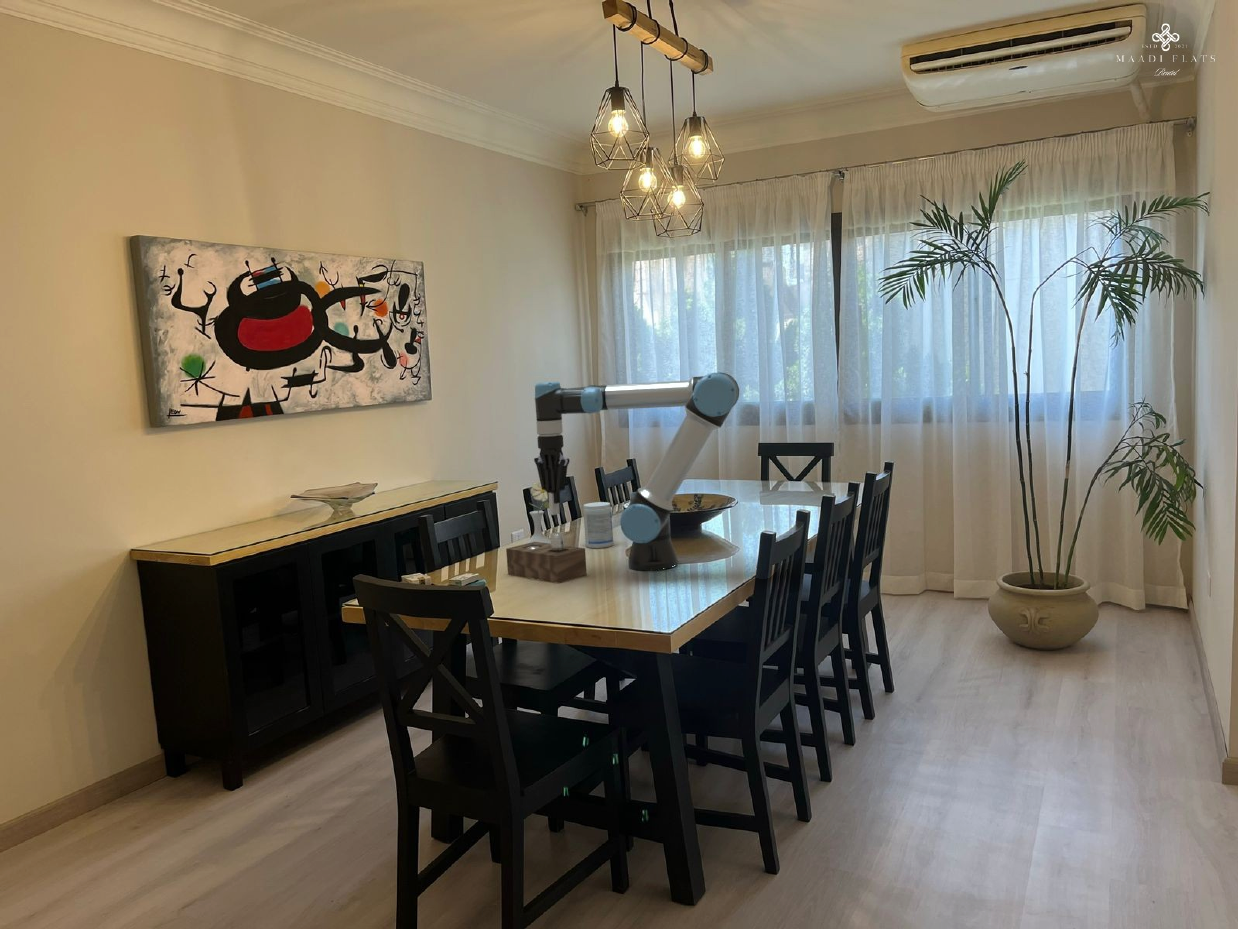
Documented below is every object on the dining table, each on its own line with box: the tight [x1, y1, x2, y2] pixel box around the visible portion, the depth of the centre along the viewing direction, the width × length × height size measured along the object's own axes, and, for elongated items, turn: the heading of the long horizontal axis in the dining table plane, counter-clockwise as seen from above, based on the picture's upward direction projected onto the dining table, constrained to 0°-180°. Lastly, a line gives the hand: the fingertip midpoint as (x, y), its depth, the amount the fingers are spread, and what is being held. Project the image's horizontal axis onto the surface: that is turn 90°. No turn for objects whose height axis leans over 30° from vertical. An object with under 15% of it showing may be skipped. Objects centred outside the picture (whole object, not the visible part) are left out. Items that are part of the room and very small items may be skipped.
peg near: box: [549, 531, 565, 553], centre depth 272 cm, size 4×4×8 cm
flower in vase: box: [524, 479, 551, 544], centre depth 308 cm, size 13×11×25 cm
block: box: [505, 542, 588, 584], centre depth 276 cm, size 22×12×8 cm, turn 48°
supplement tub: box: [582, 501, 614, 549], centre depth 314 cm, size 10×10×15 cm
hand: (554, 514), depth 271 cm, fingers closed
